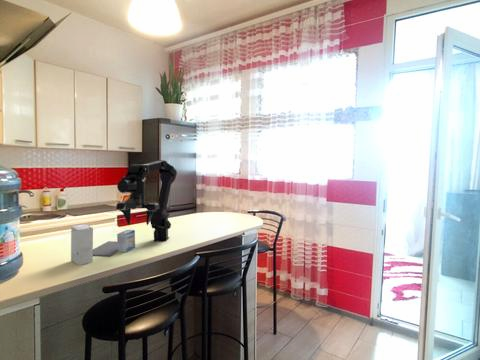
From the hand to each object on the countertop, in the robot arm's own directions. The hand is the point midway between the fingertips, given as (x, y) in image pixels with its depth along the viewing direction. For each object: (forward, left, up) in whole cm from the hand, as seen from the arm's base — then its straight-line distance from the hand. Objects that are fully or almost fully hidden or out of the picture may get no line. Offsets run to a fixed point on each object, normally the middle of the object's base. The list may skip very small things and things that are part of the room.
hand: (138, 224), depth 133 cm
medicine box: (+6, 0, -13) cm, 14 cm away
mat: (+14, 0, -12) cm, 19 cm away
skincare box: (+16, +17, -12) cm, 27 cm away
